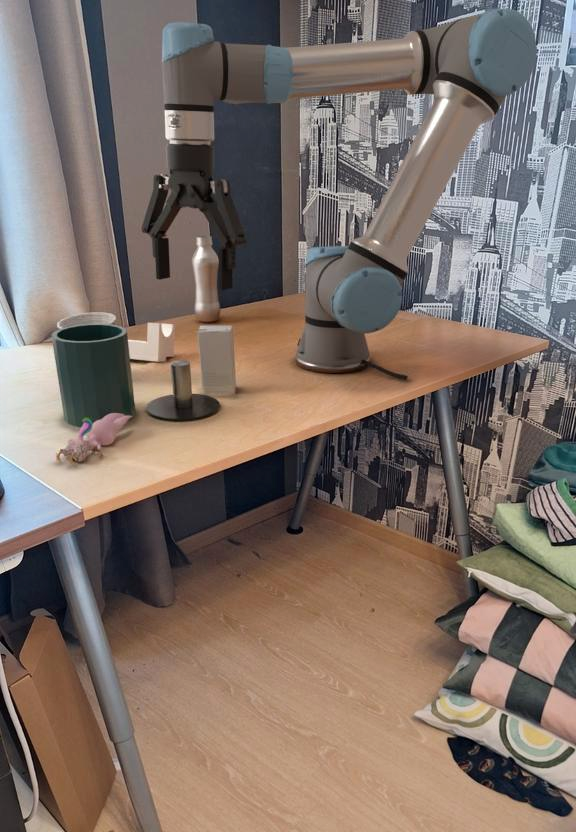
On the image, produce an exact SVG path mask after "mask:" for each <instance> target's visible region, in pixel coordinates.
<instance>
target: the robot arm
mask: <svg viewBox="0 0 576 832" xmlns="http://www.w3.org/2000/svg"><path fill="white" fill-rule="evenodd" d="M161 35H162V36H161V37H162V38H161V41H162V43H161V48H162V49H161V50H162V51H161V55H162V56H161V67H162V69H161V70H162V86H163V103H164V106H163V107H164V126H165V127H164V130H165V132H164V133H165V139H166V140H169V143H167V144H166V146H165V163H166V168H167V169H168V170H169V175H168V174H167V173H166V174H154V176H153V182H152V183H153V186H152V188H153V189H152V192H151V195H150V198H149V202H148V206H147V209H146V212H145V215H144V218H143V222H142V224H141V232H142V233H143V234H147V235H148V236H149V237H150V238H151V248H152V256H153V259H155V278H156V280H159V281H160V280H165V279H170V278H171V266H170V263H171V262H170V242H169V240H170V239H169V237H167V236H168V235H167V232H168V230H169V229H170V227H171V226H172V224H173V222H174V220H175V219H176V218H177V215H178V214H179V212H180V211H181V209H182V208H190V209H198V210H199V212H200V213H202V214H203V215H204V217H205V219H206V220H207V222H208V223H209V226H210V227H211V229H212V231H213V232H214V233H215V235H216V237H217V239H218V240H219V242H220V244H221V246H220V247H218V249H217V250H218V252H217V253H218V254H217V256H218V260H219V263H218V290H219V291H226V290H230V289H231V290H232V289H233V269H235V268H236V265H237V262H236V261H237V248H238V246H242V245H245V244H246V243H247V241H248V240H247V236H246V234H245V230H244V228H243V224H242V222H241V219H240V215H239V214H238V211H237V208H236V205H235V203H234V199H233V197H232V193H231V183H230V180H229V179H227V178H225V179H215V180H214V178H213V172H214V170H215V147H214V146H213V145H211V143H212V142H214V140H215V108H214V107H215V106H214V105H215V101H221V102H224V103H225V104H226V103H227V104H228V105H230V106H237V105H243V104H252V103H258V104H259V103H260V104H261V103H262V104H263V103H264V104H266V105H271V104H283V103H285V102H287V100H294V99H295V100H296V99H304V98H305V99H306V98H315V97H327V96H328V97H329V96H339V95H348V94H349V95H350V94H352V95H353V94H360V93H361V94H362V93H371V92H372V93H373V92H374V93H375V92H383V91H395V90H403V91H404V92H405V93H406V94H407V95H409V96H413V95H434V96H433V97H434V101H433V103H432V105H430V108H429V110H428V112H427V114H426V116H425V118H424V120H423V121H422V124H421V125H420V127H419V129H418V131H417V133H416V135H415V137H414V139H413V141H412V143H411V145H410V147H409V148H408V150H407V153H406V155H405V156H404V158H403V160H402V162H401V164H400V166H399V168H398V169H397V172H396V173H395V175H394V177H393V179H392V181H391V183H390V184H389V187H388V189H387V191H386V193H385V195H384V196H383V198H382V200H381V202H380V203H379V206H378V208H377V210H376V212H375V214H374V215H373V217H372V218H371V221H370V223H369V225H368V227H367V228H366V231H365V233H364V234H363V235H362V236H359V237H356V238H354V239H352V240H351V241H350V243H349V244H348V245H334V246H313V247H310V248H309V249H308V250H307V252H306V257H305V263H304V268H305V302H304V303H305V304H304V305H305V308H304V309H305V310H304V312H305V313H304V315H305V316H304V327H303V331H302V333H301V336H300V338H299V339H298V342H297V345H296V347H297V348H296V353H295V364H296V365H297V366H299V367H300V368H302V369H304V370H307V371H311V372H316V373H322V374H323V373H325V374H347V373H353V372H358V371H361V370H364V369H366V368H367V367H370V368H372V369H374V370H376V371H379V372H381V373H383V374H385V375H387V376H389V377H393V378H396V379H401V380H405V381H406V380H408V378H409V377H408V375H406V374H403V373H402V374H401V373H397V372H393V371H391V370H389V369H386V368H384V367H383V366H380V365H378V364H375V363H373V362H370V359H371V354H370V349H369V345H368V342H367V338H366V335H365V334H373V333H376V332H378V331H381V330H383V329H384V328H386V327H388V325H390V324H391V323H392V322H393V321H394V320H395V318H396V316H397V315H398V314H399V311H400V309H401V306H402V301H403V295H402V285H403V284H404V281H405V280H406V278H407V276H408V274H409V272H410V271H409V267H408V263H407V259H408V257H409V254H410V253H411V251H412V250H413V247H414V245H415V244H416V241H417V240H418V239H419V237H420V236H421V235H420V234H421V233H422V231H423V230H424V227H425V225H426V224H427V222H428V220H429V219H430V216H431V215H432V212H433V211H434V209H435V207H436V205H437V203H439V200H440V198H441V196H442V195H443V193H444V191H445V188H447V185H448V184H449V181H450V180H451V178H452V177H453V175H454V173H455V171H456V169H457V167H458V165H459V163H460V162H461V160H462V159H463V156H464V154H465V152H466V151H467V149H468V147H469V145H470V143H471V142H472V140H473V138H474V136H475V134H476V133H477V131H478V129H479V127H480V126H482V125H483V124H485V123H489V122H492V121H493V120H494V118H495V117H496V115H497V114H498V111H499V110H500V108H501V106H502V104H503V103H504V100H505V99H506V97H507V96H511V95H513V94H514V93H516V92H517V91H518V90H520V89H521V88H523V86H525V85H526V83H527V82H528V80H529V79H530V77H531V76H532V74H533V71H534V68H535V65H536V61H537V55H538V46H537V43H536V34H535V31H534V28H533V26H532V24H531V22H530V21H529V20H528V18H527V17H526V16H524V14H522V13H521V12H519V11H517V10H516V9H512V8H498V7H497V8H491V9H488V10H486V11H484V12H483V13H480V14H474V15H470V16H466V17H461V18H458V19H456V20H453V21H449V22H447V23H444V24H441V25H438V26H434V27H429V28H426V29H417V30H410V31H408V32H407V33H406V35H405V36H404V37H403V38H394V39H393V38H391V39H379V40H367V41H356V42H355V41H354V42H343V43H341V42H340V43H330V44H329V43H327V44H317V45H304V46H291V47H282V46H274V45H272V44H267V45H265V44H264V45H263V44H247V43H244V44H242V43H225V42H220V41H215V37H214V32H213V28H212V27H211V26H210V25H208V24H205V23H197V22H190V21H189V22H187V21H178V22H177V21H176V22H175V21H174V22H170V23H167V24H166V25H165V26H164V28H163V29H162V31H161ZM169 190H170V191H171V192H170V194H169ZM212 194H214V195H215V198H214V195H212ZM168 195H169V196H168ZM165 203H166V204H165Z"/></svg>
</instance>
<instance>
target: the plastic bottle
mask: <svg viewBox="0 0 576 832" xmlns="http://www.w3.org/2000/svg"><path fill="white" fill-rule="evenodd" d="M212 239H213V237H212V236H211V235H197V236H196V237H195V240H196V242H195V245H196V246H197V247H196V249H195V251H194V252H193V255H192V258H191V266H192V270H193V276H194V283H195V284H194V286H195V291H194V293H195V295H194V296H195V297H194V306H193V308H194V309H193V313H194V317H195V318H196V320H197V321H198V322H205V323H211V322H215V321H219V319H220V317H221V312H222V311H221V304H220V301H219V293H218V274H219V260H218V254H217V253H216V251H215V250H214V249H213V247H212V246H213V240H212Z"/></svg>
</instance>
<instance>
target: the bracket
mask: <svg viewBox="0 0 576 832" xmlns="http://www.w3.org/2000/svg"><path fill="white" fill-rule="evenodd" d="M175 327H176V325H175V324H173V323H160V322H147V328H146V329H147V330H146V334H147V335H146V337H147V338H146V341H145V340H136V339H128V346H129V355H130V360H138V361H147V362H157V363H159V362H160V363H161V362H167V358H168V357H174V356H175V355H174V354H175V330H176V328H175Z"/></svg>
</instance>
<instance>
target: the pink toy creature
mask: <svg viewBox="0 0 576 832" xmlns="http://www.w3.org/2000/svg"><path fill="white" fill-rule="evenodd" d="M129 418H132V416H129V415H128V416H125V415H124V414H120V413H111V414H108V415H106V416H105V417H104V418H103V419H101V420H97V421H96V422H94V423H93V424H92V421H91V420H90V419H89V418H84V419H83V420H82V422H84V424H83V426H82V427H80V429H79V431H78V435H77V437H76V438H70V439H68V440H67V441H68V443H67V444H66V446H65V447H64V448H60V449H59V452H58V453H57V452H55V455H56V460H55V461H56V462H58V464H60V463H61V462H62V460H61V454H62V455H63V456H64V457H65V459H67V460H68V461H69V463H68V465H71V467H72V468H73V467H74V466H75V464H74V462H73V460H75V462H77V463H81V462H84V461H85V460H86V459H87V456H88V454H89V452H91V451H93V449H95V448H96V447H97V450H98V451H101V450H102V446H110V445H111V444H112V443H113V442H114V441H115V439H116V436H117V434H118V431H120V430H121V429H122V428H123V427H124V426H125V425H126V423H127V422H128V421H127V420H128V419H129ZM132 419H133V418H132ZM85 435H86V438H84V436H85Z"/></svg>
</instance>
